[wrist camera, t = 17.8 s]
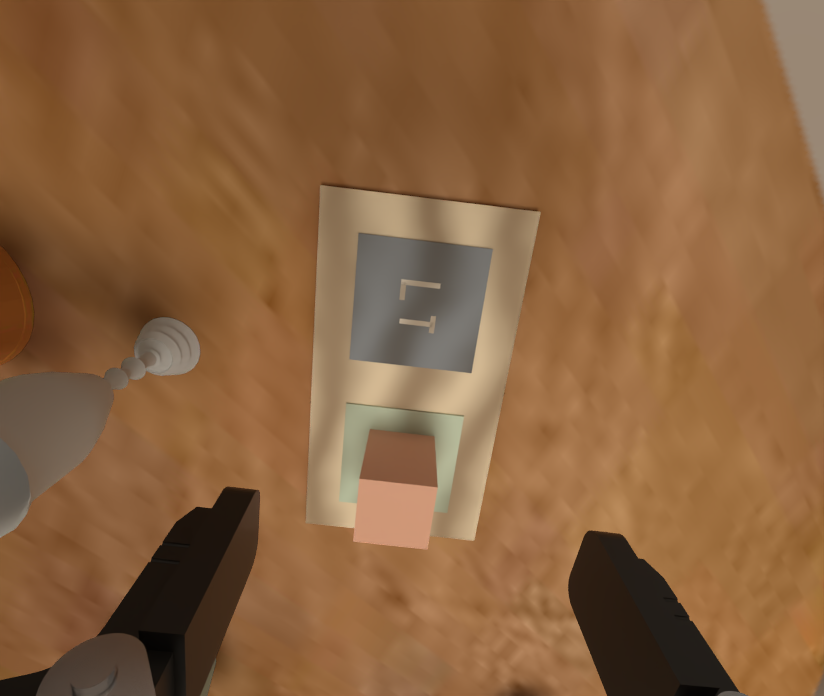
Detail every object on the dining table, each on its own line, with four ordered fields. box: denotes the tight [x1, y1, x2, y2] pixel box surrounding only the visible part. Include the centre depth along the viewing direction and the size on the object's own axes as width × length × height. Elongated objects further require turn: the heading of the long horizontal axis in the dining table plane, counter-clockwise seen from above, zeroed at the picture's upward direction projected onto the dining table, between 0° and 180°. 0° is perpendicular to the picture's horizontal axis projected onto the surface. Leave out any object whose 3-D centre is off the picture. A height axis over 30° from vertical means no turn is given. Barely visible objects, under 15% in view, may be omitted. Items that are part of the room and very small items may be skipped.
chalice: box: [0, 317, 200, 537], centre depth 28 cm, size 7×7×18 cm
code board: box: [306, 185, 541, 541], centre depth 37 cm, size 16×30×1 cm, turn 173°
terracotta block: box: [353, 429, 438, 549], centre depth 35 cm, size 6×6×7 cm
